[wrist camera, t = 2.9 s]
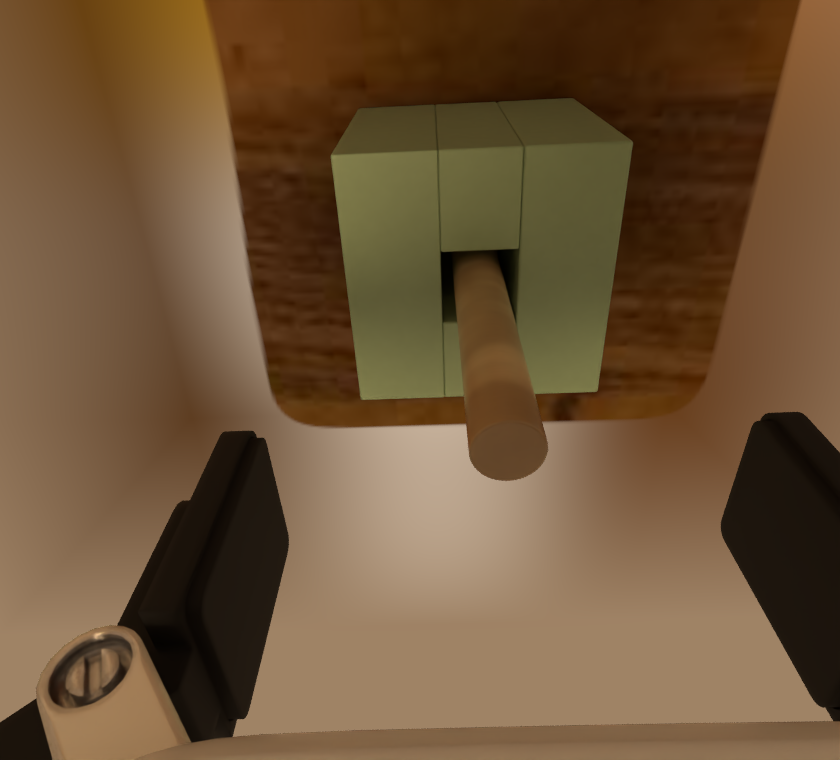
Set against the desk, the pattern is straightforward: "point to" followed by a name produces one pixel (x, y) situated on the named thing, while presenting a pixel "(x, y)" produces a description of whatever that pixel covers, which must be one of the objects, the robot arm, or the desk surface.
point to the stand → (478, 235)
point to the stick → (494, 373)
